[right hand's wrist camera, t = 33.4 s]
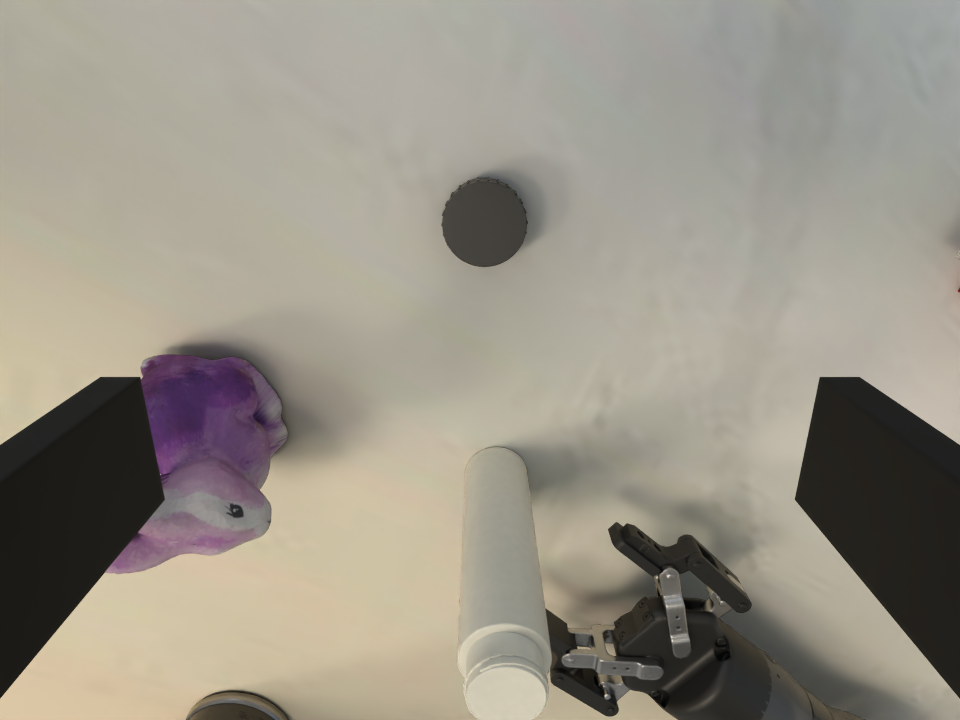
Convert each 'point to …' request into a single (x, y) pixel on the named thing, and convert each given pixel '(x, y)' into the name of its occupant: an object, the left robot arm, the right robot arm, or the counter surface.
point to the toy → (959, 256)
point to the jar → (501, 593)
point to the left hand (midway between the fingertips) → (568, 573)
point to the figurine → (206, 457)
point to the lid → (484, 222)
